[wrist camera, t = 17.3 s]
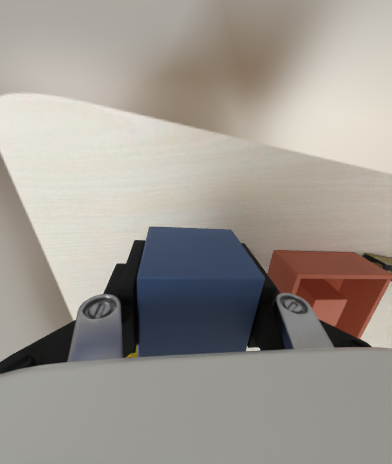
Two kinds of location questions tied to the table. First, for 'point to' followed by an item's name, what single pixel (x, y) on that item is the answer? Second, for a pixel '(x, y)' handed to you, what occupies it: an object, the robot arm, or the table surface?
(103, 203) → the table surface
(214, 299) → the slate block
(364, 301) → the terracotta bin
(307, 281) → the terracotta block
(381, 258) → the decorative block
